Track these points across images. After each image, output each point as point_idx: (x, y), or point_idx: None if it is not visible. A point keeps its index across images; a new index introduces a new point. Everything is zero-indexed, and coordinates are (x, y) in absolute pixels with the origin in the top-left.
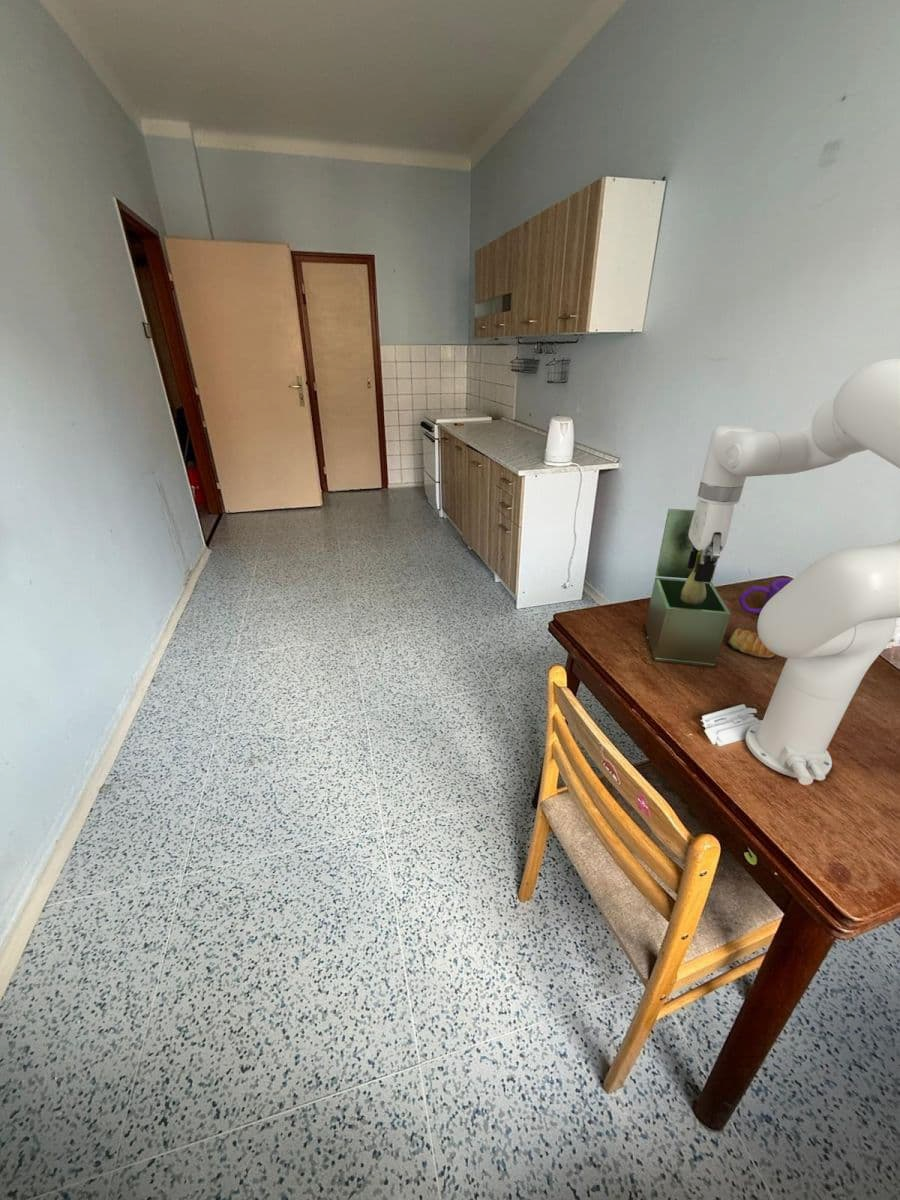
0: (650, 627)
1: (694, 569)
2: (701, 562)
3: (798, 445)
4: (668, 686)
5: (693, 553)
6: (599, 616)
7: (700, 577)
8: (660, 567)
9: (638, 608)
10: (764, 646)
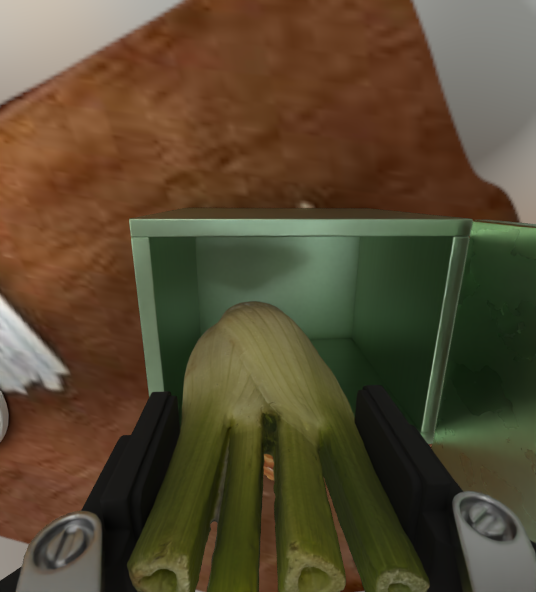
0: (308, 209)
1: (280, 421)
2: (55, 541)
3: None
4: (76, 226)
5: (409, 487)
6: (417, 59)
7: (125, 436)
8: (511, 241)
9: (472, 202)
10: (267, 463)
